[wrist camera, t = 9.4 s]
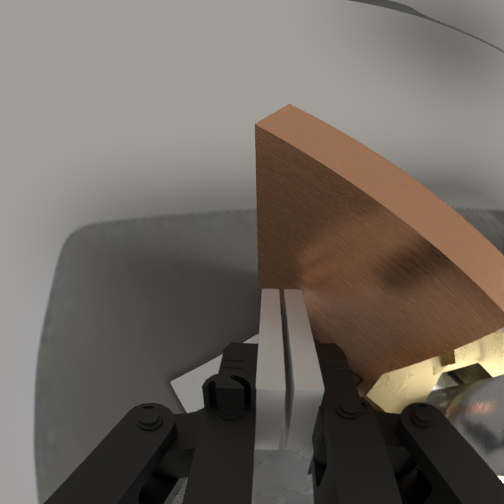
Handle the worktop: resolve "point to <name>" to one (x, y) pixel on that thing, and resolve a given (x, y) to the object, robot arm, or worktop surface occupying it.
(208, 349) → the worktop surface
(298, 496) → the flange plate
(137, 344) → the worktop surface
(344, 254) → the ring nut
